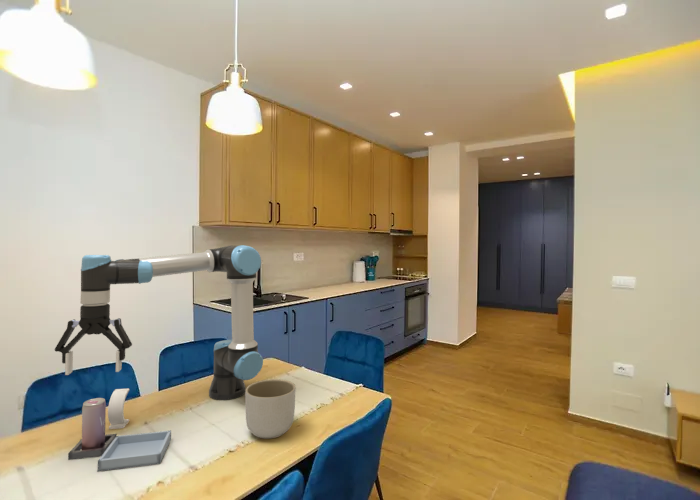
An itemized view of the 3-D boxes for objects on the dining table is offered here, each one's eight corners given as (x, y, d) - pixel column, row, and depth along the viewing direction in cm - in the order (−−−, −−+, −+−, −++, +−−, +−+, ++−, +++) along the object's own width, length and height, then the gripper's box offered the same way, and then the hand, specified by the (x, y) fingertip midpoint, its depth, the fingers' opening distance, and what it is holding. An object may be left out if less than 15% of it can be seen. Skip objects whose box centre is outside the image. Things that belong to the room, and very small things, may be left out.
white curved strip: (129, 421, 131) (129, 388, 131) (122, 429, 125) (122, 395, 125) (115, 422, 130) (115, 389, 130) (107, 430, 124) (107, 395, 124)
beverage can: (89, 444, 115) (90, 397, 115) (109, 444, 116) (109, 397, 116) (77, 455, 109) (77, 405, 109) (97, 454, 110) (98, 405, 110)
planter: (250, 449, 113) (251, 401, 113) (240, 426, 129) (241, 383, 129) (301, 437, 121) (302, 392, 121) (286, 416, 136) (287, 376, 136)
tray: (171, 439, 119) (171, 430, 119) (160, 463, 105) (160, 453, 105) (116, 445, 115) (116, 435, 115) (97, 471, 101) (97, 461, 101)
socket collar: (116, 439, 118) (116, 433, 118) (104, 455, 109) (104, 449, 109) (83, 443, 116) (83, 437, 116) (68, 460, 107) (68, 453, 107)
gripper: (143, 301, 119) (142, 365, 119) (55, 303, 113) (53, 370, 113) (136, 305, 112) (134, 373, 112) (41, 306, 106) (39, 379, 106)
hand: (94, 372), depth 112 cm, fingers open, 13 cm apart
